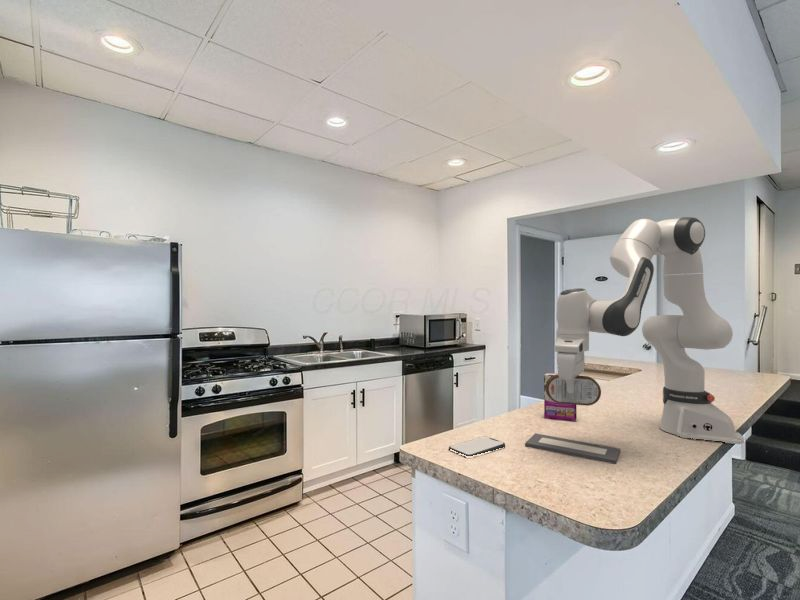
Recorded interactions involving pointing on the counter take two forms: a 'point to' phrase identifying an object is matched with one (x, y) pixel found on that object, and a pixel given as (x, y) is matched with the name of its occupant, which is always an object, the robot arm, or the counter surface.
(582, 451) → the dark gray picture frame
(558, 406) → the candy bar box
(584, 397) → the tin
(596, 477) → the counter surface
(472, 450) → the phone case
